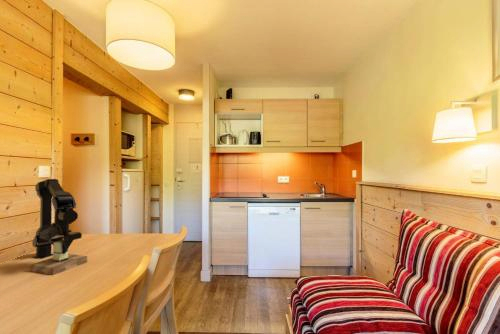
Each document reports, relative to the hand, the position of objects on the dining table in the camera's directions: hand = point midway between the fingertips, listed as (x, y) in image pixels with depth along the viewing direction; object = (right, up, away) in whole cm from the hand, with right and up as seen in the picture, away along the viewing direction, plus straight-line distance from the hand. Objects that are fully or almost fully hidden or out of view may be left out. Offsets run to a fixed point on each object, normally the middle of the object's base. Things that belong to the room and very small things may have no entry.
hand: (60, 253), depth 114 cm
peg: (0, -3, 0) cm, 2 cm away
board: (0, -6, 0) cm, 6 cm away
